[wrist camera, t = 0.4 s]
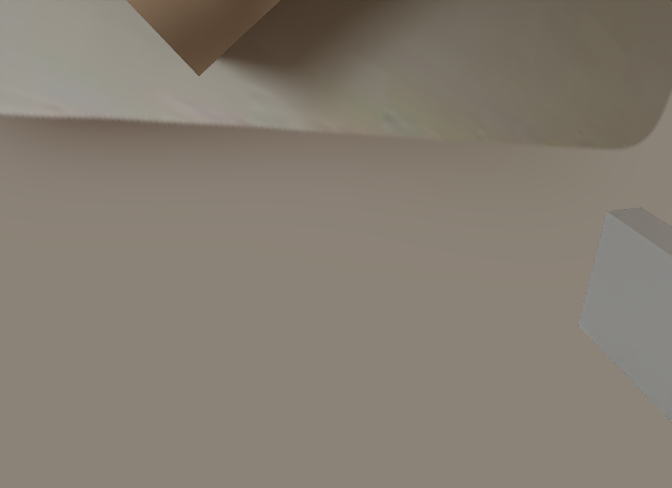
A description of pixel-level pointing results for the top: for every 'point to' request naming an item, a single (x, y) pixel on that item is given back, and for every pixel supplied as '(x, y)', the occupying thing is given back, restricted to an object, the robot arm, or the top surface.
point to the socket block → (202, 25)
